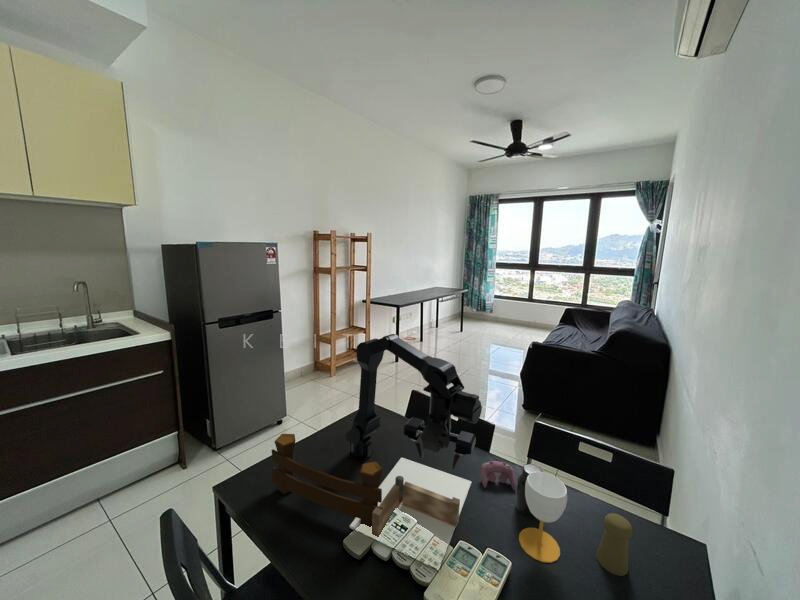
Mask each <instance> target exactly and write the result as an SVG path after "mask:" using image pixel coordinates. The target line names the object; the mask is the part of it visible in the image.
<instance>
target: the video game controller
mask: <svg viewBox="0 0 800 600" xmlns="http://www.w3.org/2000/svg"><path fill="white" fill-rule="evenodd" d="M480 468H481V469H480V470H481V471H480V476H481V484H482V487H483V488H484V489H486V488H487V487H488V480H489V481H490V482H491V483H495V482H496V481H497V476H496V474H495V473H498V474H499V475H498V480H499V482H500V483H502V484H505V483H507V481H509V482H510V486H511V488H512V489H511V490H513V491H516V490H517V482H516V481H517V479H516V475H515V470H514V468H513V467H512V466H511V465H510V464H508V463H506V462H504V461H498V460H491V461H486V462H484V463H482V464H481V466H480Z"/></svg>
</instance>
